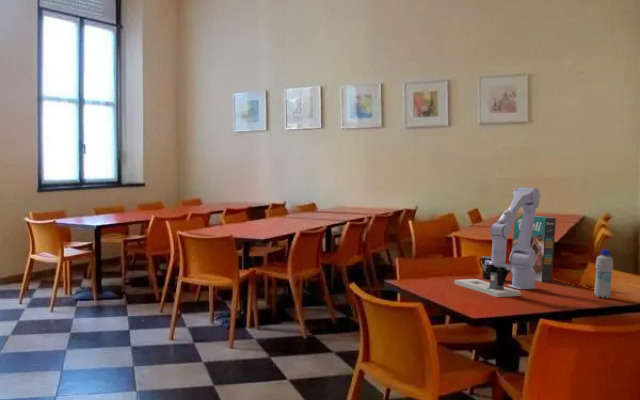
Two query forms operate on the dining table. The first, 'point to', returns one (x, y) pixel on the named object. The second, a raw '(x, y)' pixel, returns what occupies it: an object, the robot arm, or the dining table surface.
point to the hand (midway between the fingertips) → (497, 284)
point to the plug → (495, 281)
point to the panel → (486, 288)
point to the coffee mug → (485, 271)
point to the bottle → (603, 274)
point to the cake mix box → (539, 245)
